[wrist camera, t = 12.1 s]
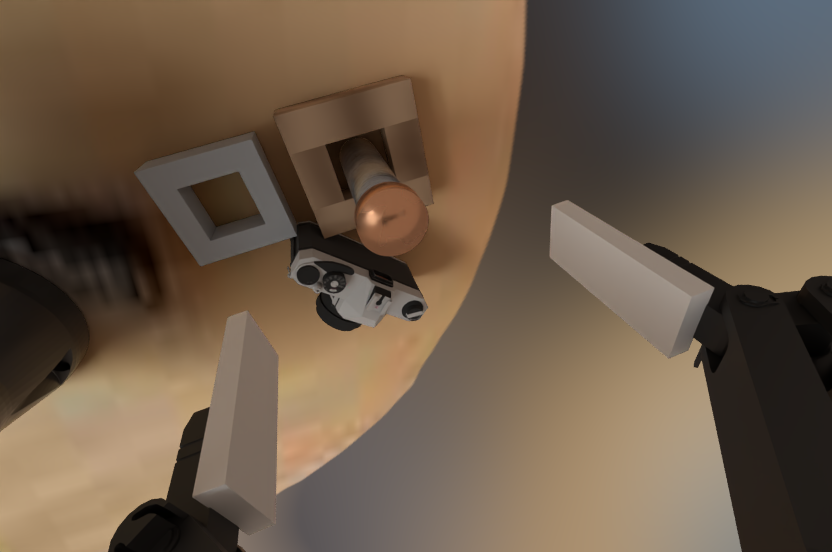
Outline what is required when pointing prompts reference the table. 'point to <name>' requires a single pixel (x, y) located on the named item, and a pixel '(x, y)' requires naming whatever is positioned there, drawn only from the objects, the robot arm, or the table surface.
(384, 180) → the lock pin
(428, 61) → the table surface
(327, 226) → the dock block
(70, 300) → the robot arm
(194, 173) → the plate
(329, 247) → the camera
